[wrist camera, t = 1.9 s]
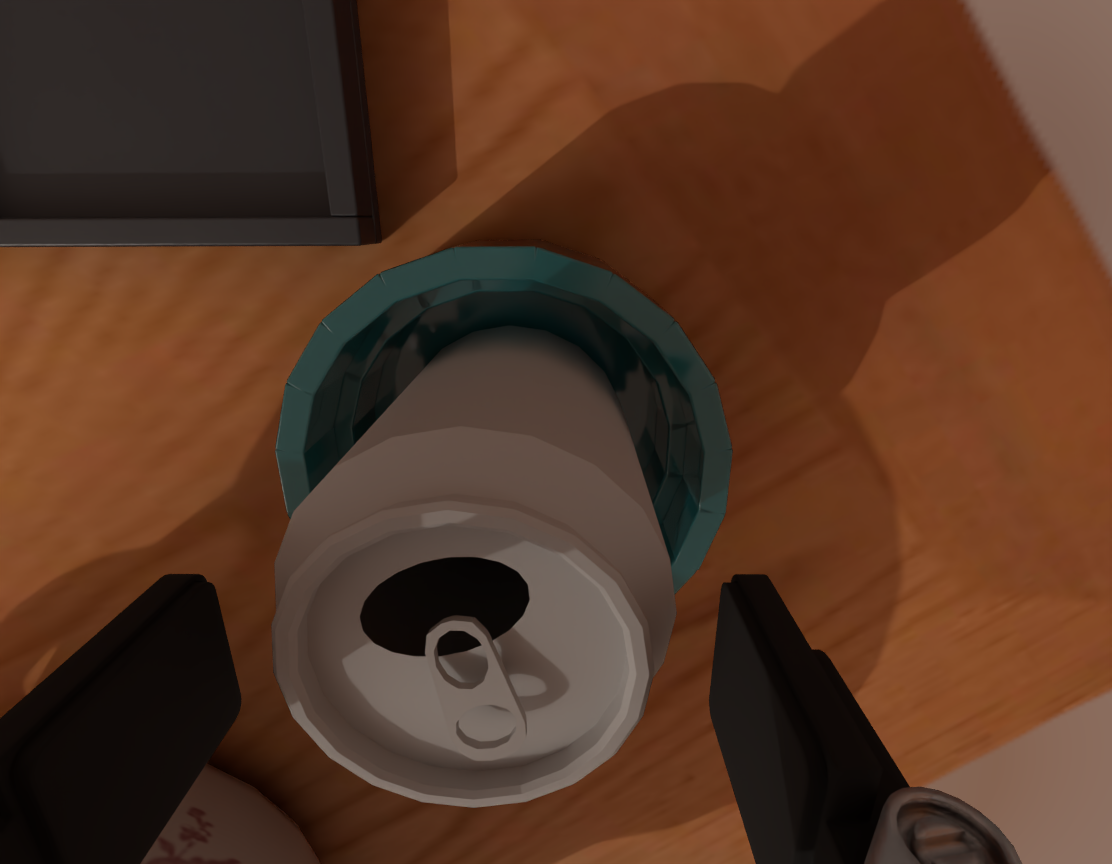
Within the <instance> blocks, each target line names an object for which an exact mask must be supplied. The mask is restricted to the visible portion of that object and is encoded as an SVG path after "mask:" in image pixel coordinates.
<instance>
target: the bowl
mask: <svg viewBox="0 0 1112 864" xmlns="http://www.w3.org/2000/svg"><path fill="white" fill-rule="evenodd" d="M508 325H511V326H518V327H525V328H532V329H539V330H546V331H548V332H550V333H552V334H554V335H556V336H558V337H560V338H562V339H564V340H566V341H568V342H570V343H573V344H575V345H577V346H579V347H580V348H581V349H582V350H583V351H584V352H585V353H586V354H587V355H588V356H589V357H590V358H591V359H592V360H593V361H594V362H595V363H596V364H597V365H598V366H599V367H600V368H601V369H602V370H603V371H604V372H605V374H606V376H607V378H608V379H609V381H610V383H611V385H612V387H613V389H614V391H615V393H616V395H617V397H618V399H619V401H620V404H621V407H622V410H623V413H624V416H625V419H626V422H627V426H628V429H629V432H630V435H631V438H632V441H633V444H634V448H635V451H636V454H637V457H638V460H639V463H640V467H641V470H642V473H643V476H644V479H645V482H646V485H647V489H648V492H649V495H650V498H651V501H652V504H653V507H654V511H655V514H656V517H657V520H658V523H659V526H660V529H661V533H662V536H663V539H664V542H665V545H666V548H667V552H668V555H669V558H670V563H671V571H672V579H673V587H674V595H675V594H676V593H677V592H678V591H679V590H680V588H681V587H682V586H683V585H684V584H685V583H686V582H687V581H688V580H689V579H690V578H691V577H692V576H693V575H694V574H695V573H696V571H697V570H699V568H700V566H701V564H702V562H703V560H704V558H705V556H706V554H707V552H708V550H709V547H710V545H711V543H712V541H713V539H714V537H715V535H716V533H717V531H718V529H719V527H720V525H721V522H722V520H723V518H724V516H725V513H726V507H727V498H728V489H729V480H730V471H731V462H732V453H733V450H732V444H731V439H730V435H729V431H728V427H727V423H726V418H725V414H724V410H723V406H722V402H721V398H720V393H719V389H718V385H717V383H716V382H715V378H714V377H713V375H712V374H711V372H710V371H709V369H708V368H707V366H706V364H705V363H704V361H703V360H702V358H701V357H700V355H699V354H698V352H697V351H696V349H695V348H694V346H693V345H692V343H691V342H690V340H689V339H688V337H687V336H686V334H685V332H684V331H683V329H682V328H681V326H680V325H679V323H678V322H677V321H676V320H675V319H674V318H673V317H672V316H671V315H670V314H669V313H668V312H667V311H665V310H664V309H663V308H662V307H661V306H660V305H659V304H658V303H656V302H655V301H654V300H653V299H652V298H651V297H650V296H649V295H647V294H646V293H645V292H643V291H642V290H641V289H640V288H638V287H637V286H636V285H634V284H633V283H632V282H630V281H629V280H628V279H626V278H625V277H624V276H623V275H621V274H620V273H619V272H617V271H616V270H615V269H613V268H612V267H611V266H610V265H608V264H607V263H606V262H604V261H601V260H600V259H598V258H596V257H593V256H590V255H587V254H584V253H581V252H578V251H575V250H572V249H569V248H566V247H563V246H560V245H557V244H554V243H551V242H548V241H545V240H544V241H542V240H540V239H521V240H476V241H473V242H469V243H465V244H462V245H458V246H454V247H451V248H448V249H445V250H442V251H439V252H436V253H434V254H431V255H428V256H425V257H422V258H419V259H417V260H414V261H411V262H408V263H405V264H403V265H400V266H397V267H394V268H391V269H388V270H386V271H383V272H381V273H380V274H377V275H376V276H374V277H373V278H372V279H371V280H370V281H368V282H367V283H366V284H365V285H364V286H362V287H361V288H360V289H359V290H357V291H356V292H355V293H354V294H353V295H351V296H350V297H349V298H348V299H347V300H345V301H344V302H343V303H342V304H340V305H339V306H338V307H337V308H336V309H334V310H333V311H332V312H331V313H330V314H328V315H327V316H326V317H325V318H323V319H322V322H321V323H319V325H318V327H317V329H316V330H315V332H314V334H313V336H312V337H311V339H310V341H309V343H308V344H307V346H306V348H305V350H304V351H303V353H302V355H301V357H300V358H299V360H298V362H297V364H296V365H295V367H294V369H293V371H292V372H291V374H290V376H289V378H288V379H287V383H286V385H285V390H284V396H283V403H282V409H281V415H280V422H279V428H278V434H277V440H276V450H275V453H276V458H277V464H278V469H279V474H280V479H281V485H282V490H283V495H284V501H285V506H286V511H287V513H288V516H289V518H290V520H291V517H292V514H293V512H294V510H295V509H296V508H297V507H298V506H299V505H300V504H301V503H302V502H303V501H304V499H305V498H306V497H307V496H308V495H309V494H310V493H311V492H312V491H313V490H314V488H315V487H316V486H317V485H318V484H319V483H320V482H321V481H322V480H323V479H324V478H325V476H326V475H327V474H328V473H329V472H330V471H331V470H332V469H333V468H334V467H335V465H336V464H337V463H338V462H339V461H340V460H341V459H342V458H343V457H344V456H345V454H346V453H347V452H348V451H349V450H350V449H351V448H352V447H353V446H354V445H355V444H356V442H357V441H358V440H359V439H360V438H361V437H362V436H363V435H364V434H365V433H366V431H367V430H368V429H369V428H370V427H371V426H372V425H373V424H374V423H375V422H376V421H377V419H378V418H379V417H380V416H381V415H382V414H383V413H384V412H385V411H386V410H387V408H388V407H389V406H390V405H391V404H392V403H393V402H394V401H395V400H396V399H397V397H398V396H399V395H400V394H401V393H402V392H403V391H404V390H405V389H406V388H407V387H408V385H409V384H410V383H411V382H412V381H413V380H414V379H415V378H416V377H417V376H418V374H419V373H420V372H421V371H422V370H423V369H424V368H425V367H426V366H427V365H428V363H429V362H430V361H431V360H432V359H433V358H434V357H435V356H436V355H437V354H438V353H439V351H440V350H441V349H442V348H444V347H446V346H448V345H449V344H451V343H453V342H455V341H457V340H459V339H461V338H462V337H464V336H466V335H468V334H470V333H472V332H474V331H479V330H485V329H491V328H497V327H502V326H508Z"/></svg>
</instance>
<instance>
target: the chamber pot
mask: <svg viewBox="0 0 1112 864" xmlns="http://www.w3.org/2000/svg"><path fill="white" fill-rule="evenodd" d="M141 864H321V862H320V860H319V858H318V856H317V855H316V853H315V852H314V850H313V849H312V847H311V845H310V844H309V842H308V841H307V839H306V838H305V836H304V834H303V833H302V831H301V830H300V828H299V826H298V825H297V823H296V822H295V821H294V820H293V819H291V818H290V817H289V816H288V815H287V814H286V813H284V812H283V811H282V810H281V809H280V808H279V807H277V806H276V805H275V804H274V803H273V802H271V801H270V800H269V799H268V798H267V797H266V796H264V795H263V794H262V793H261V792H260V791H259V790H257V789H256V788H255V787H253V786H251V785H249V784H247V783H245V782H243V781H241V780H239V779H237V778H235V777H233V776H231V775H229V774H227V773H225V772H223V771H221V770H219V769H217V768H215V767H213V766H211V765H209V764H206V765H205V767H204V768H203V770H202V771H201V773H200V774H199V776H198V777H197V779H196V780H195V782H194V783H193V785H192V786H191V788H190V789H189V791H188V792H187V794H186V796H185V797H184V799H183V800H182V802H181V803H180V805H179V806H178V808H177V809H176V811H175V812H174V814H173V815H172V817H171V818H170V820H169V821H168V823H167V824H166V826H165V827H164V829H163V830H162V832H161V833H160V835H159V836H158V838H157V839H156V841H155V842H154V844H153V846H152V847H151V849H150V850H149V852H148V853H147V855H146V856H145V858H144V859H143V861H142V862H141Z"/></svg>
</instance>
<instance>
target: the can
mask: <svg viewBox="0 0 1112 864" xmlns="http://www.w3.org/2000/svg"><path fill="white" fill-rule="evenodd" d="M274 564H275V593H276V614H275V616H274V619H273V622H272V650H273V673H274V675H275V677H276V680H277V682H278V684H279V687H280V689H281V691H282V693H283V696H284V698H285V700H286V703H287V705H288V707H289V709H290V712H291V714H292V716H293V718H294V719H295V720H296V721H297V722H298V723H299V725H300V726H301V727H302V728H303V729H304V730H305V731H306V732H307V733H308V735H309V736H310V737H311V738H312V739H313V740H314V741H315V742H316V744H317V745H318V746H319V747H320V748H321V749H322V750H323V751H324V752H325V754H326V755H327V756H328V757H329V758H331V759H332V760H334V761H336V762H337V763H339V764H340V765H342V766H343V767H345V768H346V769H348V770H350V771H351V772H353V773H354V774H356V775H357V776H359V777H361V778H362V779H364V780H365V781H367V782H368V783H370V784H371V785H374V786H377V787H380V788H382V789H385V790H388V791H391V792H394V793H397V794H400V795H403V796H406V797H409V798H412V799H414V800H417V801H420V802H426V803H435V804H444V805H453V806H462V807H471V808H477V807H486V806H494V805H503V804H512V803H520V802H527V801H530V800H532V799H535V798H538V797H540V796H543V795H546V794H548V793H551V792H554V791H557V790H559V789H562V788H565V787H567V786H570V785H573V784H575V783H577V782H578V781H579V780H581V779H582V778H583V777H585V776H586V775H588V774H589V773H590V772H592V771H593V770H594V769H596V768H597V767H599V766H600V765H601V764H603V763H604V762H605V761H607V760H608V759H610V758H611V757H612V756H614V755H615V754H616V753H617V751H618V750H619V749H620V747H621V746H622V745H623V743H624V742H625V740H626V739H627V738H628V736H629V735H630V733H631V732H632V731H633V729H634V728H635V726H636V725H637V724H638V722H639V721H640V719H641V718H642V717H643V714H644V710H645V706H646V703H647V699H648V695H649V691H650V687H651V683H652V679H653V677H654V676H655V674H656V673H657V672H658V670H659V669H660V667H661V666H662V664H663V663H664V659H665V656H666V652H667V648H668V644H669V640H670V637H671V633H672V629H673V625H674V621H675V618H676V614H677V612H676V604H675V596H674V587H673V579H672V571H671V563H670V558H669V555H668V552H667V548H666V545H665V542H664V539H663V536H662V533H661V529H660V526H659V523H658V520H657V517H656V514H655V511H654V507H653V504H652V501H651V498H650V495H649V492H648V489H647V485H646V482H645V479H644V476H643V473H642V470H641V467H640V463H639V460H638V457H637V454H636V451H635V448H634V444H633V441H632V438H631V435H630V432H629V429H628V426H627V422H626V419H625V416H624V413H623V410H622V407H621V404H620V401H619V399H618V397H617V395H616V393H615V391H614V389H613V387H612V385H611V383H610V381H609V379H608V378H607V376H606V374H605V372H604V371H603V370H602V369H601V368H600V367H599V366H598V365H597V364H596V363H595V362H594V361H593V360H592V359H591V358H590V357H589V356H588V355H587V354H586V353H585V352H584V351H583V350H582V349H581V348H580V347H579V346H577V345H575V344H573V343H570V342H568V341H566V340H564V339H562V338H560V337H558V336H556V335H554V334H552V333H550V332H548V331H546V330H539V329H532V328H525V327H518V326H511V325H508V326H502V327H497V328H491V329H485V330H479V331H474V332H472V333H470V334H468V335H466V336H464V337H462V338H461V339H459V340H457V341H455V342H453V343H451V344H449V345H448V346H446V347H444V348H442V349H441V350H440V351H439V353H438V354H437V355H436V356H435V357H434V358H433V359H432V360H431V361H430V362H429V363H428V365H427V366H426V367H425V368H424V369H423V370H422V371H421V372H420V373H419V374H418V376H417V377H416V378H415V379H414V380H413V381H412V382H411V383H410V384H409V385H408V387H407V388H406V389H405V390H404V391H403V392H402V393H401V394H400V395H399V396H398V397H397V399H396V400H395V401H394V402H393V403H392V404H391V405H390V406H389V407H388V408H387V410H386V411H385V412H384V413H383V414H382V415H381V416H380V417H379V418H378V419H377V421H376V422H375V423H374V424H373V425H372V426H371V427H370V428H369V429H368V430H367V431H366V433H365V434H364V435H363V436H362V437H361V438H360V439H359V440H358V441H357V442H356V444H355V445H354V446H353V447H352V448H351V449H350V450H349V451H348V452H347V453H346V454H345V456H344V457H343V458H342V459H341V460H340V461H339V462H338V463H337V464H336V465H335V467H334V468H333V469H332V470H331V471H330V472H329V473H328V474H327V475H326V476H325V478H324V479H323V480H322V481H321V482H320V483H319V484H318V485H317V486H316V487H315V488H314V490H313V491H312V492H311V493H310V494H309V495H308V496H307V497H306V498H305V499H304V501H303V502H302V503H301V504H300V505H299V506H298V507H297V508H296V509H295V510H294V512H293V514H292V517H291V520H290V522H289V525H288V528H287V531H286V533H285V536H284V539H283V541H282V544H281V547H280V549H279V552H278V555H277V558H276V560H275V563H274Z"/></svg>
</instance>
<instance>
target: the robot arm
mask: <svg viewBox="0 0 1112 864" xmlns="http://www.w3.org/2000/svg"><path fill="white" fill-rule="evenodd" d="M240 707H241V693H240V689H239V685H238V681H237V676H236V672H235V668H234V664H233V660H232V655H231V651H230V647H229V643H228V639H227V635H226V630H225V626H224V622H223V618H222V614H221V610H220V605H219V601H218V597H217V593H216V589H215V587H214V585H213V584H212V583H210V582H207V580H206V578H205V577H204V576H203V575H200V574H168V575H165V576H163V577H161V578H160V579H159V580H158V581H157V582H155V583H154V584H153V585H152V586H151V587H150V588H149V589H147V590H146V591H145V592H144V593H143V594H142V595H141V596H139V597H138V598H137V599H136V600H135V601H134V602H133V603H131V604H130V605H129V606H128V607H127V608H126V609H125V610H123V611H122V612H121V613H120V614H119V615H118V616H117V617H115V618H114V619H113V620H112V621H111V622H110V623H109V624H107V625H106V626H105V627H104V628H103V629H102V630H101V631H100V632H98V633H97V634H96V635H95V636H94V637H93V638H92V639H90V640H89V641H88V642H87V643H86V644H85V645H84V646H82V647H81V648H80V649H79V650H78V651H77V652H76V653H74V654H73V655H72V656H71V657H70V658H69V659H68V660H66V661H65V662H64V663H63V664H62V665H61V666H60V667H58V668H57V669H56V670H55V671H54V672H53V673H52V674H50V675H49V676H48V677H47V678H46V679H45V680H44V681H42V682H41V683H40V684H39V685H38V686H37V687H36V688H34V689H33V690H32V691H31V692H30V693H29V694H28V695H27V696H25V697H24V698H23V699H22V700H21V701H20V702H19V703H17V704H16V705H15V706H14V707H13V708H12V709H11V710H9V711H8V712H7V713H6V714H5V715H4V716H3V717H1V718H0V864H141V862H142V861H143V859H144V858H145V856H146V855H147V853H148V852H149V850H150V849H151V847H152V846H153V844H154V842H155V841H156V839H157V838H158V836H159V835H160V833H161V832H162V830H163V829H164V827H165V826H166V824H167V823H168V821H169V820H170V818H171V817H172V815H173V814H174V812H175V811H176V809H177V808H178V806H179V805H180V803H181V802H182V800H183V799H184V797H185V796H186V794H187V792H188V791H189V789H190V788H191V786H192V785H193V783H194V782H195V780H196V779H197V777H198V776H199V774H200V773H201V771H202V770H203V768H204V767H205V765H206V764H207V762H208V761H209V759H210V758H211V756H212V755H213V753H214V752H215V750H216V749H217V747H218V745H219V744H220V742H221V741H222V739H223V738H224V736H225V735H226V733H227V732H228V730H229V729H230V727H231V726H232V724H233V723H234V721H235V720H236V718H237V716H238V714H239V711H240ZM709 707H710V714H711V719H712V723H713V726H714V729H715V732H716V736H717V739H718V742H719V745H720V749H721V752H722V755H723V758H724V762H725V765H726V768H727V771H728V775H729V778H730V781H731V784H732V788H733V791H734V794H735V797H736V801H737V804H738V807H739V810H740V814H741V817H742V820H743V823H744V827H745V830H746V833H747V836H748V840H749V843H750V846H751V849H752V853H753V856H754V859H755V862H756V864H1022V862H1021V860H1020V858H1019V856H1018V854H1017V852H1016V850H1015V848H1014V846H1013V845H1012V844H1011V842H1010V841H1009V840H1008V839H1007V838H1006V836H1005V835H1004V834H1003V833H1002V831H1001V830H1000V829H999V828H998V827H997V826H996V825H995V824H993V822H991V821H990V820H989V819H988V818H987V817H986V816H984V815H983V814H982V813H981V812H980V811H978V810H977V809H975V808H973V807H972V806H970V805H969V804H967V803H965V802H964V801H962V800H960V799H959V798H956V797H953V796H951V795H949V794H946V793H944V792H942V791H939V790H935V789H929V788H924V787H910V786H909V785H908V783H907V782H906V780H905V778H904V777H903V775H902V774H901V772H900V770H899V769H898V767H897V766H896V764H895V762H894V761H893V759H892V758H891V756H890V754H889V753H888V751H887V750H886V748H885V746H884V745H883V743H882V742H881V740H880V738H879V737H878V735H877V734H876V732H875V730H874V729H873V727H872V726H871V724H870V722H869V721H868V719H867V718H866V716H865V714H864V713H863V711H862V710H861V708H860V706H859V705H858V703H857V702H856V700H855V698H854V697H853V695H852V694H851V692H850V690H849V689H848V687H847V686H846V684H845V682H844V681H843V679H842V678H841V676H840V674H839V673H838V671H837V670H836V668H835V666H834V665H833V663H832V662H831V660H830V659H829V657H828V656H827V655H826V654H825V653H824V652H823V651H821V650H812V649H811V648H810V646H809V644H808V643H807V641H806V639H805V638H804V636H803V634H802V632H801V631H800V629H799V627H798V626H797V624H796V622H795V621H794V619H793V617H792V616H791V614H790V612H789V611H788V609H787V607H786V606H785V604H784V602H783V601H782V599H781V597H780V596H779V594H778V592H777V591H776V589H775V587H774V585H773V584H772V582H771V580H770V579H769V577H768V576H767V575H764V574H735V575H734V576H733V577H732V580H731V583H723V584H722V587H721V595H720V604H719V613H718V622H717V631H716V640H715V649H714V659H713V668H712V677H711V686H710V695H709Z"/></svg>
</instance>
